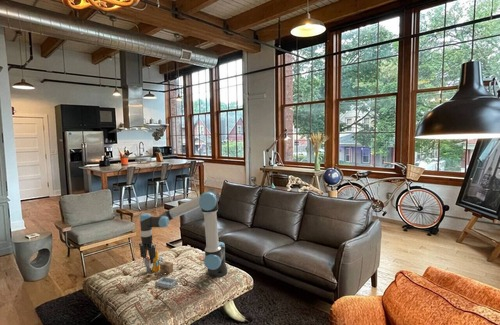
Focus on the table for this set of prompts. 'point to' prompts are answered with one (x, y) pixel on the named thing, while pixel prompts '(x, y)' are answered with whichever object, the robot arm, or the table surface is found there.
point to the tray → (166, 282)
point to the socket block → (148, 277)
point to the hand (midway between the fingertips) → (148, 267)
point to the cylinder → (156, 262)
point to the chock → (166, 267)
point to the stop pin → (147, 265)
